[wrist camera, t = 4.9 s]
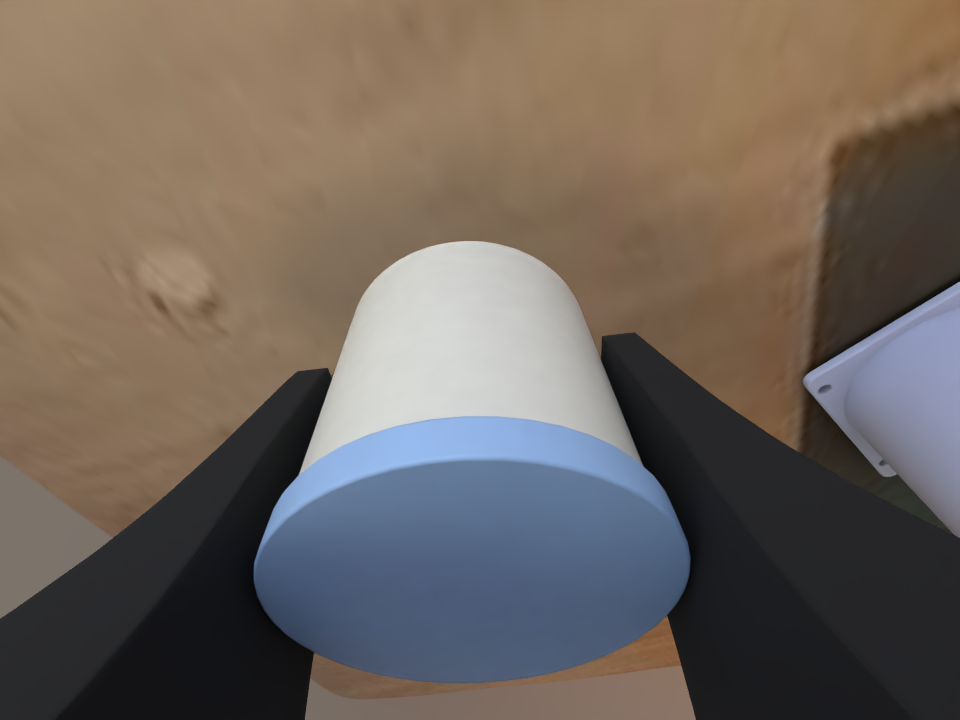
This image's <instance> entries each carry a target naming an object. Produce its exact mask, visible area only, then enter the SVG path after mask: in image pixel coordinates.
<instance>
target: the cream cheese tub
mask: <svg viewBox="0 0 960 720" xmlns="http://www.w3.org/2000/svg"><path fill="white" fill-rule="evenodd" d="M690 562H691V557H690V551H689V546H688V542H687V539H686V537H685V535H684V532H683V530H682V528H681V525H680V523H679V520H678V518H677V516H676V513H675V511H674V509H673V506H672V504H671V502H670V500H669V498H668V496H667V494H666V491H665V490H664V489H663V487H662V486H661V485H660V483H659V482H658V481H657V479H656V478H655V477H654V476H653V475H652V474H651V473H650V472H649V471H648V470H647V469H646V468H645V467H643V464H642V462H641V459H640V457H639V454H638V452H637V449H636V447H635V444H634V442H633V439H632V437H631V434H630V432H629V429H628V427H627V424H626V421H625V419H624V416H623V414H622V411H621V409H620V406H619V404H618V401H617V399H616V396H615V394H614V391H613V389H612V386H611V384H610V381H609V379H608V376H607V374H606V371H605V369H604V366H603V364H602V361H601V359H600V356H599V354H598V351H597V349H596V346H595V344H594V341H593V339H592V336H591V334H590V331H589V329H588V326H587V324H586V321H585V319H584V316H583V314H582V311H581V309H580V306H579V304H578V302H577V300H576V298H575V296H574V294H573V293H572V291H571V290H570V288H569V287H568V286H567V284H566V283H565V282H564V281H563V280H562V279H561V278H560V277H559V275H558V274H557V273H555V272H554V271H553V270H552V269H550V268H549V267H548V266H547V265H545V264H544V263H543V262H541V261H539V260H537V259H536V258H534V257H532V256H531V255H529V254H526V253H524V252H521V251H519V250H517V249H514V248H511V247H507V246H503V245H500V244H494V243H487V242H479V241H460V242H450V243H443V244H439V245H435V246H431V247H427V248H424V249H422V250H419V251H416V252H414V253H411V254H409V255H408V256H406V257H404V258H402V259H400V260H398V261H397V262H395V263H394V264H392V265H391V266H390V267H388V268H387V269H386V270H384V271H383V272H382V273H381V274H380V275H379V276H378V277H377V278H376V279H375V280H374V281H373V282H372V284H371V285H370V286H369V287H368V289H367V290H366V291H365V293H364V294H363V296H362V298H361V300H360V302H359V304H358V306H357V309H356V311H355V314H354V317H353V320H352V323H351V326H350V329H349V332H348V335H347V337H346V340H345V343H344V346H343V349H342V352H341V355H340V358H339V361H338V363H337V366H336V369H335V372H334V375H333V378H332V381H331V384H330V386H329V389H328V392H327V395H326V398H325V401H324V404H323V407H322V410H321V412H320V415H319V418H318V421H317V424H316V427H315V430H314V433H313V436H312V438H311V441H310V444H309V447H308V450H307V453H306V456H305V459H304V462H303V464H302V467H301V470H300V473H299V476H298V477H297V478H296V479H295V480H294V481H293V482H292V483H291V484H290V485H289V487H288V488H287V489H286V490H285V491H284V492H283V494H282V495H281V497H280V499H279V500H278V502H277V504H276V506H275V507H274V509H273V512H272V514H271V517H270V520H269V522H268V525H267V528H266V530H265V533H264V536H263V538H262V541H261V544H260V546H259V549H258V553H257V556H256V559H255V562H254V584H255V589H256V593H257V597H258V599H259V601H260V603H261V605H262V607H263V609H264V611H265V612H266V613H267V615H268V616H269V617H270V619H271V620H272V621H273V622H274V624H275V625H277V626H278V627H279V628H280V629H281V630H282V631H283V632H284V633H285V634H286V635H288V636H289V637H290V638H292V639H293V640H295V641H296V642H298V643H299V644H300V645H302V646H304V647H306V648H307V649H309V650H311V651H313V652H315V653H317V654H319V655H321V656H323V657H326V658H328V659H330V660H332V661H335V662H337V663H340V664H343V665H346V666H349V667H352V668H355V669H359V670H363V671H366V672H370V673H374V674H379V675H384V676H389V677H394V678H400V679H408V680H415V681H426V682H439V683H482V682H495V681H506V680H514V679H522V678H528V677H533V676H539V675H544V674H549V673H553V672H557V671H561V670H565V669H568V668H572V667H575V666H578V665H581V664H585V663H587V662H590V661H593V660H595V659H598V658H601V657H603V656H606V655H608V654H610V653H612V652H614V651H616V650H618V649H621V648H623V647H624V646H626V645H628V644H630V643H631V642H633V641H635V640H637V639H638V638H640V637H641V636H643V635H644V634H646V633H647V632H648V631H650V630H651V629H653V628H654V627H655V626H656V625H657V624H658V623H659V622H661V621H662V620H663V619H664V618H665V617H666V616H667V615H668V614H669V613H670V611H671V610H672V609H673V608H674V607H675V605H676V604H677V603H678V601H679V599H680V598H681V596H682V594H683V592H684V591H685V588H686V585H687V582H688V579H689V576H690Z"/></svg>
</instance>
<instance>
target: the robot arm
mask: <svg viewBox="0 0 960 720" xmlns="http://www.w3.org/2000/svg"><path fill="white" fill-rule="evenodd" d="M601 361H602V364H603V366H604V369H605V371H606V374H607V376H608V379H609V381H610V384H611V386H612V389H613V391H614V394H615V396H616V399H617V401H618V404H619V406H620V409H621V411H622V414H623V416H624V419H625V421H626V424H627V427H628V429H629V432H630V434H631V437H632V439H633V442H634V444H635V447H636V449H637V452H638V454H639V457H640V459H641V462H642V464H643V467H645V468H646V469H647V470H648V471H649V472H650V473H651V474H652V475H653V476H654V477H655V478H656V479H657V481H658V482H659V483H660V485H661V486H662V487H663V489H664V490H665V491H666V494H667V496H668V498H669V500H670V502H671V504H672V506H673V509H674V511H675V513H676V516H677V518H678V520H679V523H680V525H681V528H682V530H683V532H684V535H685V537H686V539H687V542H688V546H689V551H690V557H691V562H690V576H689V579H688V582H687V585H686V588H685V591H684V592H683V594H682V596H681V598H680V599H679V601H678V603H677V604H676V605H675V607H674V608H673V609H672V610H671V611H670V613H669V614H668V615H667V616H668V619H669V623H670V626H671V630H672V633H673V637H674V640H675V644H676V647H677V651H678V655H679V658H680V662H681V666H682V669H683V673H684V676H685V680H686V684H687V687H688V691H689V695H690V698H691V702H692V705H693V710H694V714H695V717H696V720H960V282H958V283H957V284H955V285H953V286H952V287H950V288H948V289H947V290H945V291H943V292H942V293H940V294H938V295H937V296H935V297H933V298H932V299H930V300H928V301H927V302H925V303H923V304H922V305H920V306H918V307H917V308H915V309H913V310H912V311H910V312H909V313H907V314H905V315H904V316H902V317H900V318H899V319H897V320H895V321H894V322H892V323H890V324H889V325H887V326H885V327H884V328H882V329H880V330H879V331H877V332H875V333H874V334H872V335H870V336H869V337H867V338H866V339H864V340H862V341H861V342H859V343H857V344H856V345H854V346H852V347H851V348H849V349H847V350H846V351H844V352H842V353H841V354H839V355H837V356H836V357H834V358H832V359H831V360H829V361H827V362H826V363H824V364H822V365H821V366H819V367H818V368H816V369H814V370H813V371H811V372H809V373H808V374H807V375H806V376H805V377H804V379H803V385H804V386H805V387H806V389H807V390H808V391H809V392H810V393H811V394H812V396H813V397H814V398H815V399H816V400H817V401H818V402H819V404H820V405H821V406H822V407H823V408H824V409H825V411H826V412H827V413H828V414H829V415H830V416H831V418H832V419H833V420H834V421H835V422H836V423H837V425H838V426H839V427H840V428H841V429H842V430H843V432H844V433H845V434H846V435H847V436H848V437H849V438H850V440H851V441H852V442H853V443H854V444H855V445H856V447H857V448H858V449H859V450H860V451H861V452H862V454H863V455H864V456H865V457H866V458H867V459H868V461H869V462H870V463H871V464H872V465H873V466H874V468H875V469H876V470H877V471H878V472H879V473H880V474H881V475H882V476H884V477H890V476H894V475H896V474H898V475H899V476H900V477H901V479H902V480H903V481H904V482H905V483H906V484H907V485H908V486H909V487H910V488H911V489H912V490H913V491H914V492H915V493H916V495H917V496H918V497H919V498H920V499H921V500H922V501H923V502H924V503H925V504H926V505H927V506H928V507H929V508H930V509H931V511H932V512H933V513H934V514H935V515H936V516H937V517H938V518H939V519H940V520H941V521H942V522H943V523H944V524H945V525H946V527H947V528H948V529H949V530H950V531H951V532H952V533H953V534H954V535H953V534H951V533H948V532H946V531H944V530H942V529H940V528H938V527H936V526H934V525H932V524H930V523H928V522H926V521H924V520H922V519H920V518H918V517H916V516H914V515H912V514H910V513H908V512H906V511H904V510H902V509H900V508H898V507H896V506H894V505H892V504H890V503H888V502H886V501H884V500H882V499H880V498H878V497H877V496H875V495H873V494H871V493H869V492H867V491H865V490H863V489H862V488H860V487H858V486H856V485H854V484H852V483H850V482H849V481H847V480H845V479H843V478H841V477H840V476H838V475H836V474H834V473H833V472H831V471H829V470H828V469H826V468H824V467H822V466H821V465H819V464H817V463H816V462H814V461H812V460H810V459H809V458H807V457H805V456H804V455H802V454H800V453H799V452H797V451H795V450H794V449H792V448H790V447H789V446H787V445H786V444H784V443H782V442H781V441H779V440H778V439H776V438H774V437H773V436H771V435H770V434H768V433H767V432H765V431H764V430H762V429H761V428H759V427H758V426H756V425H755V424H754V423H752V422H751V421H749V420H748V419H746V418H745V417H743V416H742V415H740V414H739V413H737V412H736V411H734V410H733V409H732V408H730V407H729V406H727V405H726V404H725V403H723V402H722V401H721V400H719V399H718V398H716V397H715V396H714V395H712V394H711V393H710V392H708V391H707V390H706V389H704V388H703V387H702V386H701V385H699V384H698V383H697V382H695V381H694V380H693V379H691V378H690V377H689V376H688V375H686V374H685V373H684V372H683V371H681V370H680V369H679V368H678V367H676V366H675V365H674V364H673V363H671V362H670V361H669V360H668V359H666V358H665V357H664V356H663V355H662V354H660V353H659V352H658V351H657V350H656V349H654V348H653V347H652V346H651V345H649V344H648V343H647V342H646V341H645V340H643V339H642V338H641V337H640V336H638V335H637V334H636V333H635V332H634V333H626V334H617V335H608V336H602V353H601ZM331 381H332V378H331V375H330V373H329V370H328V368H323V369H315V370H306V371H297V372H296V373H295V374H294V375H293V376H292V377H291V378H289V379H288V380H287V381H286V382H285V383H284V384H283V385H282V386H281V387H280V388H279V389H278V390H277V391H276V392H275V393H274V394H273V395H272V396H271V397H270V398H269V399H268V400H267V401H266V402H265V403H264V404H263V405H262V406H261V407H260V408H259V409H258V410H257V411H256V412H255V413H254V414H253V415H252V416H251V417H250V418H248V419H247V420H246V421H245V422H244V423H243V424H242V425H241V426H240V427H239V428H238V429H237V430H236V431H235V432H234V433H233V434H232V435H231V436H230V437H229V438H228V439H227V440H226V441H225V442H224V443H223V444H222V445H221V446H220V447H219V448H218V449H217V450H216V451H214V452H213V453H212V454H211V455H210V456H209V457H208V458H207V459H206V460H205V461H203V462H202V463H201V464H200V465H199V466H198V467H197V468H196V469H195V470H193V471H192V472H191V473H190V474H189V475H188V476H187V477H186V478H185V479H184V480H182V481H181V482H180V483H179V484H178V485H177V486H176V487H175V488H174V489H172V490H171V491H170V492H169V493H168V494H167V495H166V496H165V497H163V498H162V499H161V500H160V501H159V502H157V503H156V504H155V505H154V506H153V507H151V508H150V509H149V510H148V511H147V512H145V513H144V514H143V515H142V516H141V517H139V518H138V519H137V520H136V521H134V522H133V523H132V524H130V525H129V526H128V527H127V528H125V529H124V530H123V531H122V532H120V533H119V534H118V535H116V536H115V537H114V538H113V539H111V540H110V541H109V542H108V543H106V544H105V545H104V546H103V547H101V548H100V549H98V550H97V551H96V552H94V553H93V554H92V555H91V556H89V557H88V558H86V559H85V560H83V561H82V562H81V563H79V564H78V565H76V566H75V567H74V568H72V569H71V570H69V571H68V572H67V573H65V574H64V575H62V576H61V577H60V578H58V579H57V580H55V581H54V582H52V583H51V584H50V585H48V586H47V587H45V588H44V589H42V590H41V591H40V592H38V593H37V594H35V595H34V596H33V597H31V598H30V599H28V600H27V601H26V602H24V603H23V604H21V605H20V606H18V607H17V608H16V609H14V610H13V611H11V612H10V613H8V614H7V615H5V616H4V617H2V618H1V619H0V720H305V713H306V705H307V697H308V690H309V682H310V675H311V668H312V662H313V655H314V652H313V651H311V650H309V649H307V648H306V647H304V646H302V645H300V644H299V643H298V642H296V641H295V640H293V639H292V638H290V637H289V636H288V635H286V634H285V633H284V632H283V631H282V630H281V629H280V628H279V627H278V626H277V625H275V624H274V622H273V621H272V620H271V619H270V617H269V616H268V615H267V613H266V612H265V611H264V609H263V607H262V605H261V603H260V601H259V599H258V597H257V593H256V589H255V584H254V562H255V559H256V556H257V553H258V549H259V546H260V544H261V541H262V538H263V536H264V533H265V530H266V528H267V525H268V522H269V520H270V517H271V514H272V512H273V509H274V507H275V506H276V504H277V502H278V500H279V499H280V497H281V495H282V494H283V492H284V491H285V490H286V489H287V488H288V487H289V485H290V484H291V483H292V482H293V481H294V480H295V479H296V478H297V477H298V476H299V473H300V470H301V467H302V464H303V462H304V459H305V456H306V453H307V450H308V447H309V444H310V441H311V438H312V436H313V433H314V430H315V427H316V424H317V421H318V418H319V415H320V412H321V410H322V407H323V404H324V401H325V398H326V395H327V392H328V389H329V386H330V384H331Z"/></svg>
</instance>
